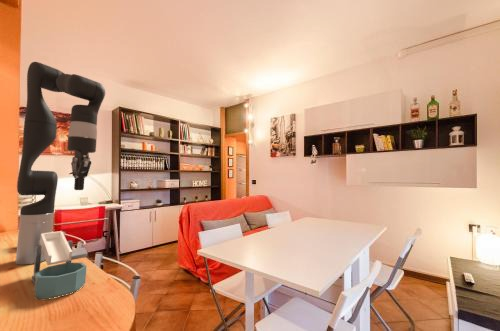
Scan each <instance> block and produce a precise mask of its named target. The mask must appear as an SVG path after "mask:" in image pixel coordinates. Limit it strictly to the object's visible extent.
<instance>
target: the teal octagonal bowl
mask: <svg viewBox="0 0 500 331" xmlns="http://www.w3.org/2000/svg"><path fill="white" fill-rule="evenodd" d="M86 276H87V265H86V264H85V263H84V262H71V263H66V262H63V263H58V264H53V265H48V266H47V267H45V268H42V269H40V271H38V272H36V275H35V285H33V287H34V289H33V292H34V298H35V297H36V298H35V299H37V300H41V299H48V300H50V299H49V298H54V297H58V296H62V295H66V294H70V293H72V292H75V291H77V290H79V289H80V288H81V287H82V286H83V287H84V285H85V284H86V280H87V279H86V278H87V277H86ZM83 287H82V288H83ZM82 288H81V289H82ZM81 289H80V290H81ZM80 290H79V291H80ZM77 292H78V291H77ZM75 293H76V292H75ZM70 295H71V294H70Z"/></svg>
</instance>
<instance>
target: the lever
mask: <svg viewBox="0 0 500 331" xmlns="http://www.w3.org/2000/svg"><path fill="white" fill-rule="evenodd" d="M67 241H68V240H67V238H66V236H65V234H64V233H63V230H60V231H58V230H57V231H52V232H49V233H41V237H40V244H41V246H42V250H41V251H42V254H43V255H44V256H45V259H46V260H45V261H46V265H47V266H53V265H58V264H62V263H66V261H71V262H72V261H73V260H79V259H84V258H87V257H88V252H87V250H86V248H85V247H79V248H74V249H73V248H72V250H71V248H70V246H69V244H68V242H67Z"/></svg>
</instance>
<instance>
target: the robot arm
mask: <svg viewBox="0 0 500 331" xmlns="http://www.w3.org/2000/svg"><path fill="white" fill-rule="evenodd" d="M26 76H27V77H26V92H27V93H26V98H27V99H26V109H25V116H24V122H23V134H22V135H23V136H22V138H23V139H22V150H21V151H22V153H21V158H20V164H19V165H20V166H19V171H18V177H17V183H16V191H17V193H18V195H19V196H43V198H41V199H40V200H38V201H36V202H35V201H34V202H33V203H29V204H25V205H23V206H22V207H20V215H19V222H18V223H19V224H18V235H17V244H16V245H17V246H16V257H15V264H16V265H31V264H32V265H33V264H34V263H35V252H36V246H38V245H41V244H40V237H41V233H49V232H53V228H54V217H55V201H56V195H57V187H58V174H57V172H55V171H53V170H32V167H33V166H34V164H35V163H36V161H37V159H38V158H39V157H40V156H41V154H43V152H45V151H46V150H47V149H48V148H49V147H50V146H51V145H52V144H53V143H54V142H55V140H56V138H57V132H58V131H57V130H58V129H57V128H58V121H57V119H56V117H55V115H54V114H53V111H52V110H50V107H49V106H48V104H47V103H46V101H45V98H44V97H43V91H42V89H44V90H47V91H50V92H53V93H64V94H67V95H69V96H72V97H75V98H78V99H82V100H84V101H88V104H74V105H73V106H72V107H71V111H70V112H71V113H70V124H69V128H68V136H67V148H66V149H67V151H69V152H74V156H72V158H71V159H72V160H71V164H70V165H71V171H72V177H73V178H74V185H73V189H74V190H75V191H83V190H84V188H85V179H86V178H87V177H88V176H89V172H90V169H91V165H92V161H91V157H90V154H94V153H96V152H97V138H98V128H97V127H98V126H97V125H98V114H99V110H100V108H101V105H102V103H103V102H104V99H105V96H106V89H105V86H104V85H103V84H102V83H100V82H98V81H95V80H93V79H90V78H87V77H85V76H82V75H79V74H77V73H74V74H70V73H65V72H63V71H61V70H60V69H57V68H55V67H52V66H49V65H47V64H45V63H42V62H38V61H32V62H31V63H30V64H29V66H28V69H27V73H26ZM41 250H42V249H41ZM44 261H46V259H45V256H44V255H43V254H42V251H41V261H40V263H41V262H44Z"/></svg>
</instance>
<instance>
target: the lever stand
mask: <svg viewBox="0 0 500 331" xmlns="http://www.w3.org/2000/svg"><path fill="white" fill-rule="evenodd" d="M67 242H68V244H69V246H70V248H71V250H72V249H73V244H74V243H73V240H67ZM41 249H42V246H41V245H38V246H36V252H35V263H33V264H34V266H33V275H31V281H32V284H33V286H35V275H36V272H38V271H40V270H41V262H40V261H41ZM65 263H72V260H71V261H66V262H65Z"/></svg>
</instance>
